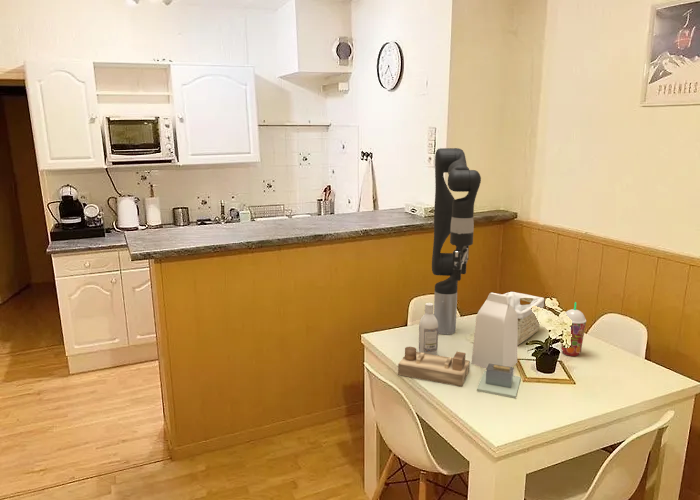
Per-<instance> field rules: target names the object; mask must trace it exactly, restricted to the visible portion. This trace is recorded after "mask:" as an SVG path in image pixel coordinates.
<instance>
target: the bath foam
mask: <svg viewBox="0 0 700 500" xmlns="http://www.w3.org/2000/svg"><path fill="white" fill-rule="evenodd" d="M424 309H425V310H424V313H423V315H422V316H421V318H420V321H419V325H418V352H420V353H421V352H422V353H426V354H432V355H438V343H439V342H438V341H439V333H438V321H437V319H436V317H435V316H434V302H425V304H424Z"/></svg>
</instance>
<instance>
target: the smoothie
mask: <svg viewBox="0 0 700 500" xmlns="http://www.w3.org/2000/svg"><path fill="white" fill-rule="evenodd" d="M565 313H566V314H567V316H568V317H569V318H570V319H571V320H572V326H571V334H572V337H571V347H569V348H564V347H563V344H561V350H562V353H563V354H564V355H567V356H570V357H577V356H579V355H580V353H581V352H582V349H583V348H582V346H583V342H584V335H585V329H586V324H587V319H586V317H585V315H584V313H583V312H582V311H581V310H579V309H577V301H575V302H574V306H573V308H572V309H569V310H567V311H565V312H564V314H565Z"/></svg>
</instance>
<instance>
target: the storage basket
mask: <svg viewBox="0 0 700 500" xmlns="http://www.w3.org/2000/svg"><path fill="white" fill-rule="evenodd" d="M502 295H506V296H507V297H508V300H509V303H510V305H511V306H512V307H513V308H514V310H515V311H516V312H517V315H518V338H517V346H519V345H521V344H522V343H523V342H525V341H527V340H528V339H529V338H532V336H534V335H535V334H536V333H537V332H538V331H539V330H540V324H541V323H540V324H539V322H538V320H537V318H536V316H535V314H534V313H533V312H532V310H531V308H532V306H537V307H540V308H543V309H544V307H545V298H544V297H541V296H536V295H531V294H527V293H521V292H515V291H510V292H509V291H508V292H506V293H503V294H502ZM521 301H524V302H527V303H529V304H521Z"/></svg>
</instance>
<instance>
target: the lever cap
mask: <svg viewBox="0 0 700 500" xmlns="http://www.w3.org/2000/svg"><path fill="white" fill-rule="evenodd" d="M514 367H515V366H513V367H508V366H502V365H496V364H490V363H489V364H488V367H487V369H486V368H485V369H486V370H485V371H486V384H490V385H496V386H501V387H507V388H511V386H512V382H513V376H514V371H515V370H514V369H515V368H514Z"/></svg>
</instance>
